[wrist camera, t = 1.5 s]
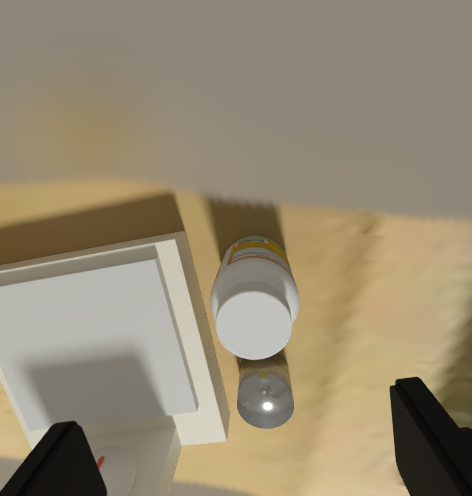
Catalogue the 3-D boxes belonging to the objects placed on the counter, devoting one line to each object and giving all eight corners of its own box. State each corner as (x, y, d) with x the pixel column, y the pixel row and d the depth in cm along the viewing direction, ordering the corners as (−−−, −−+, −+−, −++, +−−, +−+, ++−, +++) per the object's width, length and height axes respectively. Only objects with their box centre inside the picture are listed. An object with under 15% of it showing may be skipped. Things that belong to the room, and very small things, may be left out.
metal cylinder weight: (284, 347, 27) (289, 377, 23) (292, 389, 28) (297, 425, 24) (235, 353, 27) (231, 385, 23) (245, 395, 28) (242, 431, 24)
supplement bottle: (257, 309, 26) (256, 390, 16) (209, 268, 25) (180, 328, 16) (302, 264, 25) (329, 325, 15) (253, 220, 24) (250, 255, 14)
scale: (185, 230, 24) (118, 288, 13) (229, 413, 29) (210, 579, 17) (-13, 267, 27) (-222, 345, 15) (57, 432, 31) (-64, 592, 19)
